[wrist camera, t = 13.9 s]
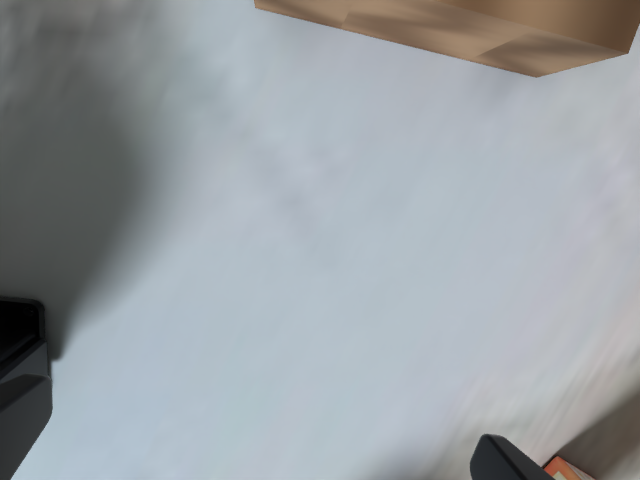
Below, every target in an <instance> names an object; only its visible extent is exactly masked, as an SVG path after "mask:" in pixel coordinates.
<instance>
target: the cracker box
mask: <svg viewBox="0 0 640 480" xmlns="http://www.w3.org/2000/svg"><path fill="white" fill-rule="evenodd" d="M544 470H545V471H546V472H547V473H548V474H550V475H551V476H552V477H553V478H554V479H556V480H596V479H594V478H592V477H591V476H589V475H588V474H586V473H585V472H583V471H581V470H580V469H578V468H576V467H575V466H573V465H571V464H570V463H568V462H567V461H565V460H563V459H562V458H560V457H559V456H557V457H555V458H554V459H553V460H552V461H551V462H550V463H549V464H548V465H547V466H546V467H545V468H544Z"/></svg>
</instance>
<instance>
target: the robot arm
mask: <svg viewBox="0 0 640 480" xmlns="http://www.w3.org/2000/svg"><path fill="white" fill-rule="evenodd" d="M29 308H31V309H32V310H33V311H34V312H31V311H30V310H29ZM52 409H53V404H52V380H51V378H50V377H49V376H48V367H47V342H46V340H45V329H44V308H43V305H42V304H41V303H40V302H38V301H36V300H29V299H20V298H10V297H1V296H0V480H11V478H12V476H13V475H14V473H15V472H16V470H17V469H18V467H19V466H20V464H21V463H22V461H23V460H24V458H25V457H26V455H27V454H28V452H29V451H30V449H31V448H32V446H33V444H34V443H35V441H36V440H37V438H38V437H39V435H40V434H41V432H42V431H43V429H44V428H45V426H46V425H47V423H48V421H49V419H50V417H51V414H52ZM470 473H471V477H472V480H556V479H554V478H553V477H552V476H551V475H550V474H548V473H547V472H546V471H545V470H544V469H542V468H541V467H540V466H539V465H537V464H536V463H535V462H534V461H533V460H531V459H530V458H529V457H528V456H527V455H525V454H524V453H523V452H522V451H520V450H519V449H518V448H517V447H516V446H514V445H513V444H512V443H511V442H509V441H508V440H507V439H506V438H504V437H503V436H500V435H493V434H484V435H482V436H481V438H480V440H479V442H478V444H477V447H476V449H475V451H474V454H473V456H472V458H471V461H470Z"/></svg>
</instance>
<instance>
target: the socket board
mask: <svg viewBox="0 0 640 480" xmlns="http://www.w3.org/2000/svg"><path fill="white" fill-rule="evenodd" d="M254 3H255V8H258V9H262V10H266V11H270V12H274V13H278V14H282V15H286V16H290V17H294V18H298V19H302V20H306V21H310V22H314V23H318V24H322V25H326V26H331V27H335V28H339V29H343V30H347V31H351V32H355V33H359V34H363V35H367V36H371V37H375V38H379V39H383V40H387V41H391V42H395V43H399V44H403V45H407V46H411V47H415V48H419V49H423V50H427V51H431V52H435V53H439V54H443V55H447V56H451V57H456V58H460V59H464V60H468V61H472V62H476V63H480V64H484V65H488V66H492V67H496V68H500V69H504V70H508V71H512V72H516V73H520V74H524V75H528V76H532V77H536V78H537V77H541V76H544V75H548V74H552V73H556V72H560V71H563V70H567V69H571V68H575V67H579V66H582V65H586V64H590V63H594V62H598V61H602V60H605V59H609V58H613V57H617V56H621V55H624V54H628V53H629V50H630V47H631V45H632V42H633V39H634V37H635V34H636V31H637V29H638V26H639V23H640V0H254Z"/></svg>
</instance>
